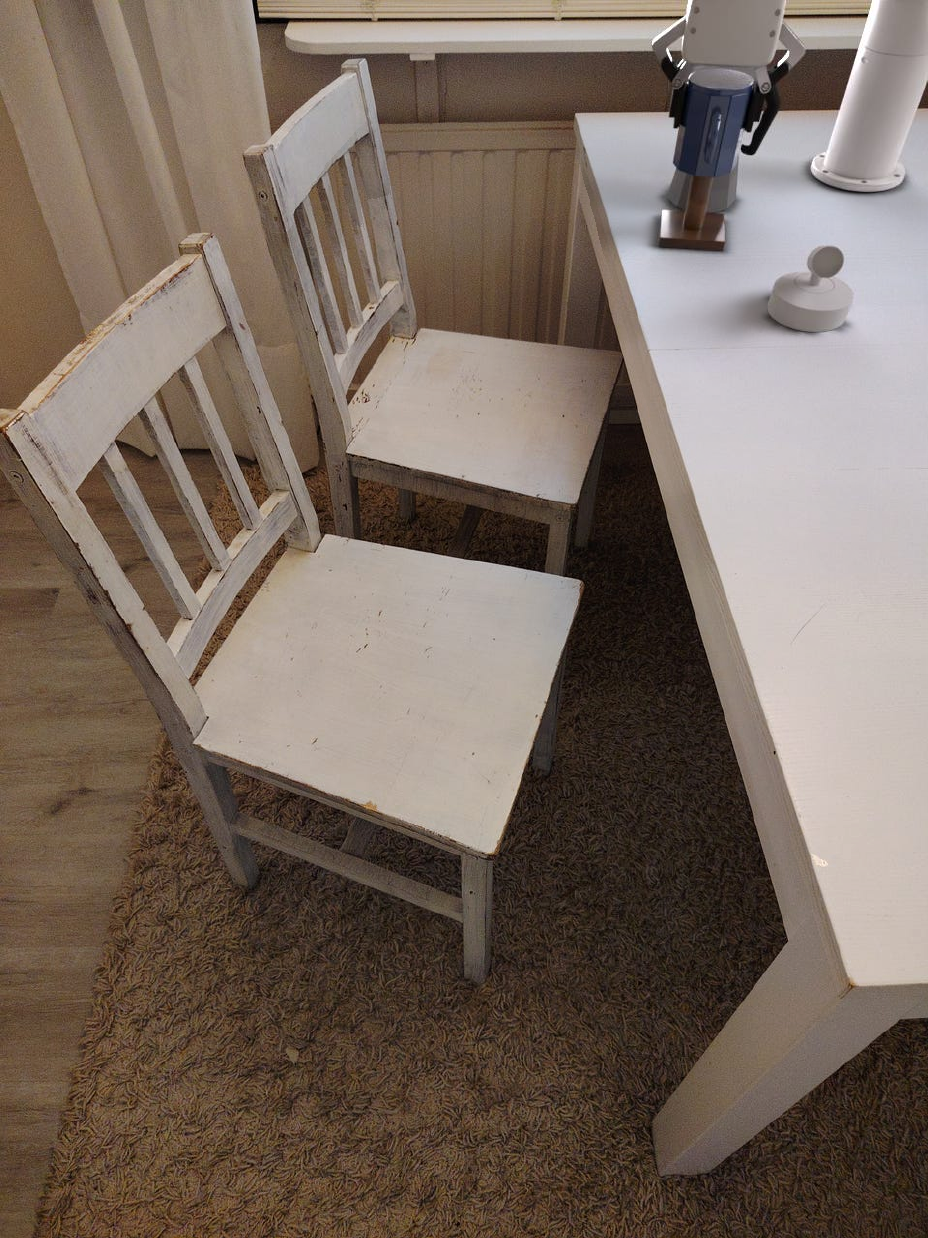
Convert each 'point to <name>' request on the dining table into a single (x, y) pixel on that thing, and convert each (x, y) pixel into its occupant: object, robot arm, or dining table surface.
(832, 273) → the wall hook
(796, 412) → the dining table surface
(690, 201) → the cup stand
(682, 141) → the cup
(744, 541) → the dining table surface
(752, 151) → the coffeepot
